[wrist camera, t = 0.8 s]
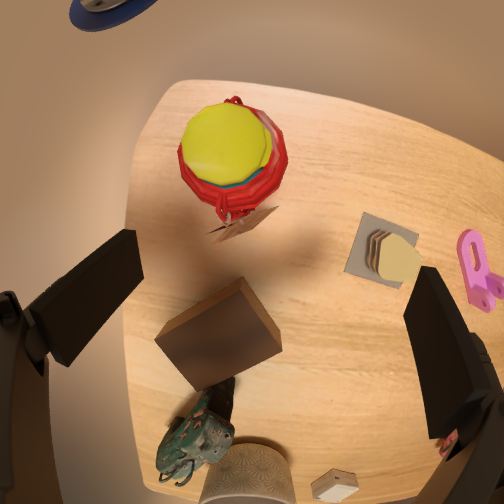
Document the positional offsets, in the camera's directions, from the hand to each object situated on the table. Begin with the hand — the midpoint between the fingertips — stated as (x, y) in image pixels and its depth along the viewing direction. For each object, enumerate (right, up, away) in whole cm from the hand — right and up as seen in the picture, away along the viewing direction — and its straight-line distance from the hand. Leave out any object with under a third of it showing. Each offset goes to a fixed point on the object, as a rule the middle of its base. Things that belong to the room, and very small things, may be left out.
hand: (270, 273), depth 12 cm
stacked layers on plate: (+18, +1, +27) cm, 33 cm away
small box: (+18, -52, +37) cm, 66 cm away
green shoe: (-9, -25, +33) cm, 42 cm away
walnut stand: (-5, -10, +30) cm, 32 cm away
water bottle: (-2, +10, +26) cm, 28 cm away
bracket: (+37, -1, +27) cm, 46 cm away
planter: (-1, -40, +35) cm, 54 cm away
